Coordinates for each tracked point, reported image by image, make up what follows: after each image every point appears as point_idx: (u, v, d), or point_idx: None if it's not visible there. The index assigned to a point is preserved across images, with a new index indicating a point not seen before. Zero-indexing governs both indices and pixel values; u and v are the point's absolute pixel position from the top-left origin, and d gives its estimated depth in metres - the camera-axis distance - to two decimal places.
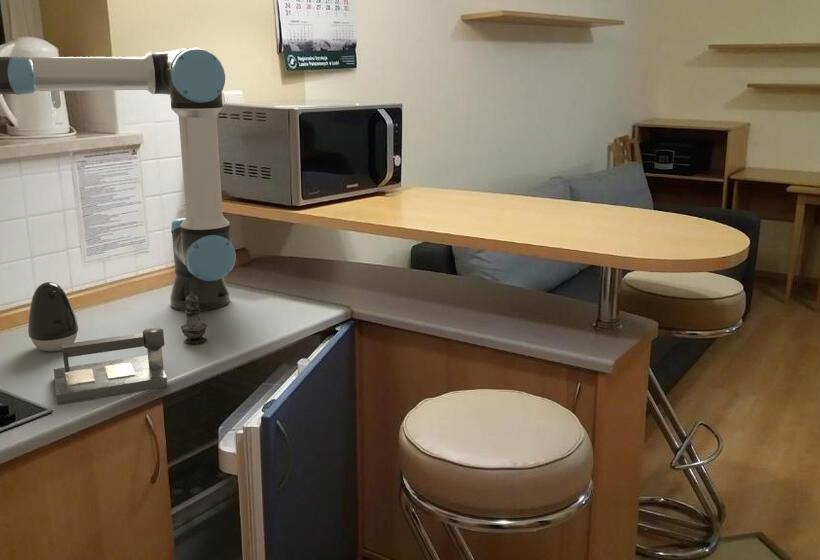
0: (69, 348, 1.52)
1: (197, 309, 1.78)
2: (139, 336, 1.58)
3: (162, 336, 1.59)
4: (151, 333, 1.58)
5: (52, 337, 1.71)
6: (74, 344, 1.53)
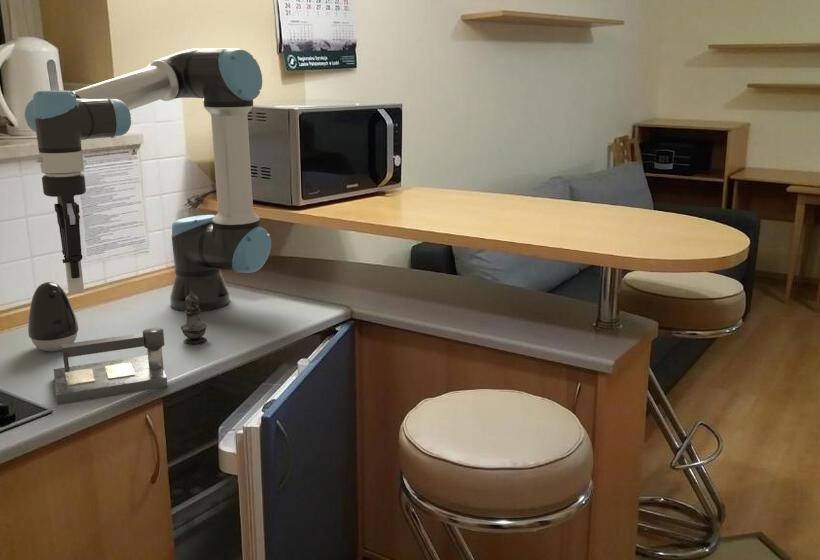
0: (69, 348, 1.52)
1: (197, 309, 1.78)
2: (139, 336, 1.58)
3: (162, 336, 1.59)
4: (151, 333, 1.58)
5: (52, 337, 1.71)
6: (74, 344, 1.53)
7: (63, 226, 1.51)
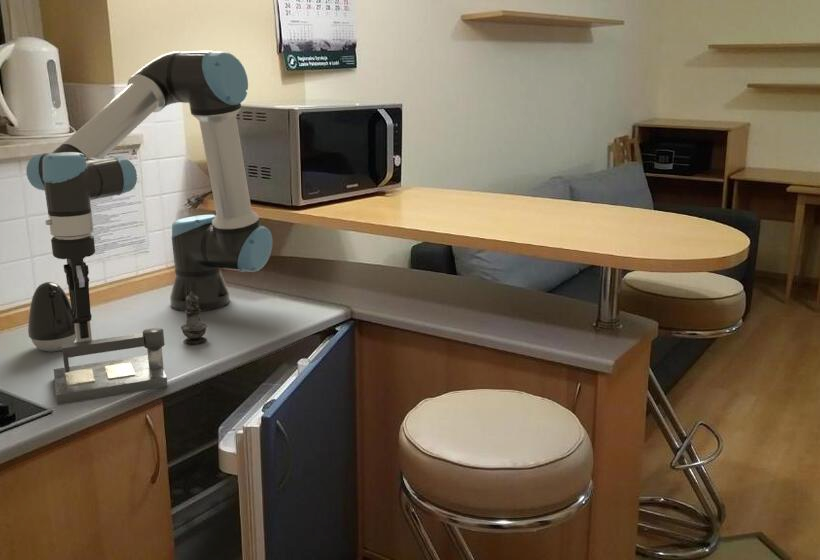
0: (69, 348, 1.52)
1: (197, 309, 1.78)
2: (139, 336, 1.58)
3: (162, 336, 1.59)
4: (151, 333, 1.58)
5: (52, 337, 1.71)
6: (74, 344, 1.53)
7: (72, 287, 1.50)
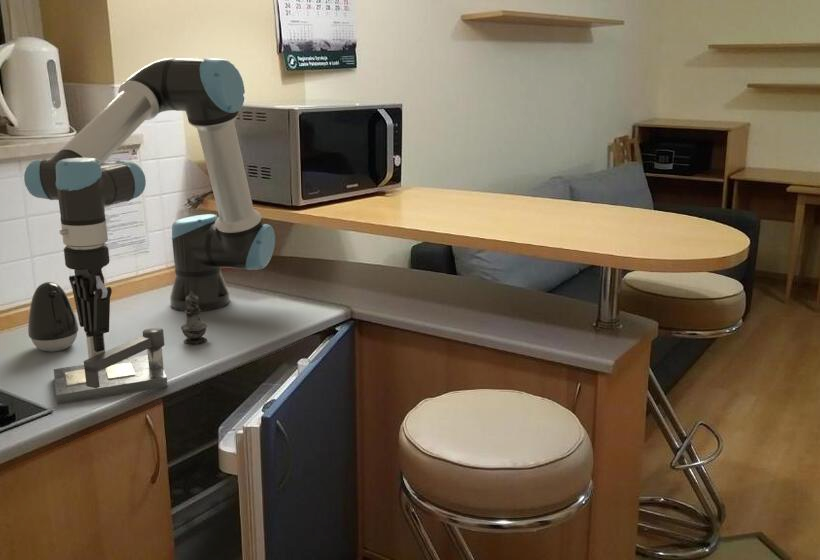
0: (98, 361, 1.45)
1: (197, 309, 1.78)
2: (145, 337, 1.57)
3: None
4: (156, 332, 1.58)
5: (52, 337, 1.71)
6: (97, 357, 1.46)
7: (89, 299, 1.44)
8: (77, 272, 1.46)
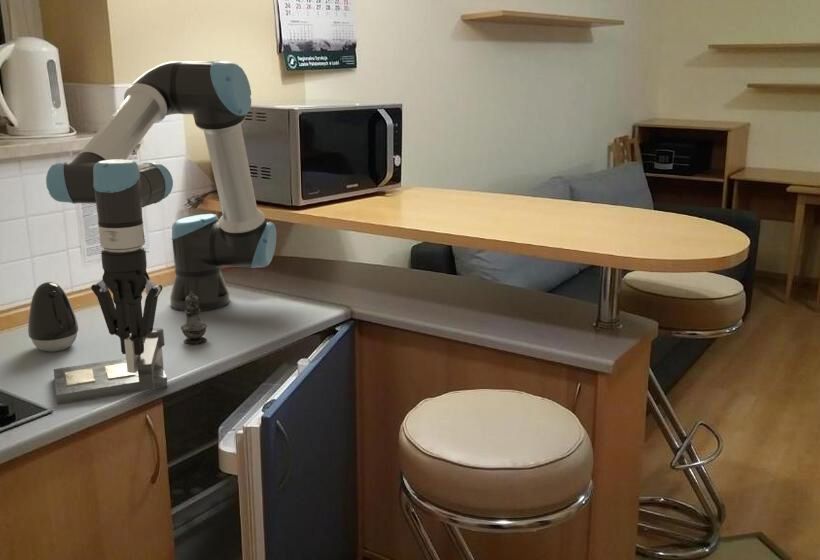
0: (151, 362, 1.45)
1: (197, 309, 1.78)
2: (153, 337, 1.57)
3: None
4: (159, 331, 1.59)
5: (52, 337, 1.71)
6: (145, 359, 1.45)
7: (134, 302, 1.42)
8: (110, 278, 1.42)
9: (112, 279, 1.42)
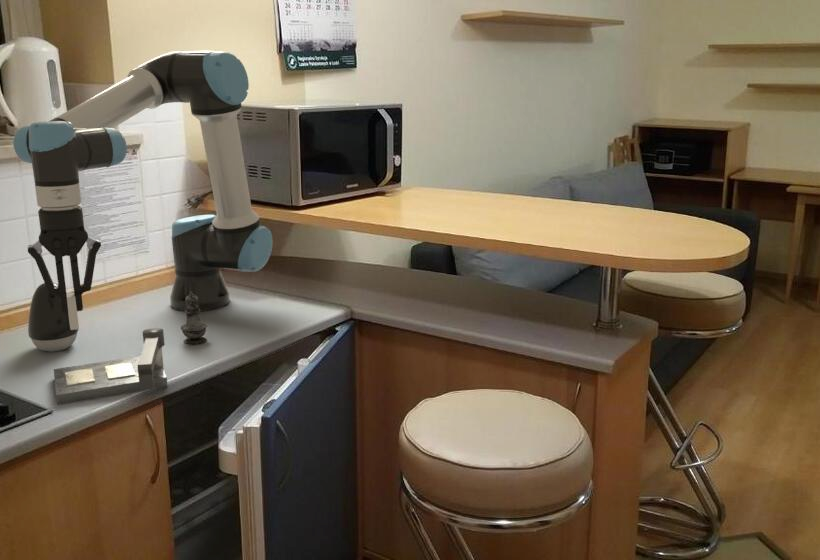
0: (151, 362, 1.45)
1: (197, 309, 1.78)
2: (153, 337, 1.57)
3: None
4: (159, 331, 1.59)
5: (52, 337, 1.71)
6: (145, 359, 1.45)
7: None
8: (50, 238, 1.46)
9: (52, 239, 1.46)
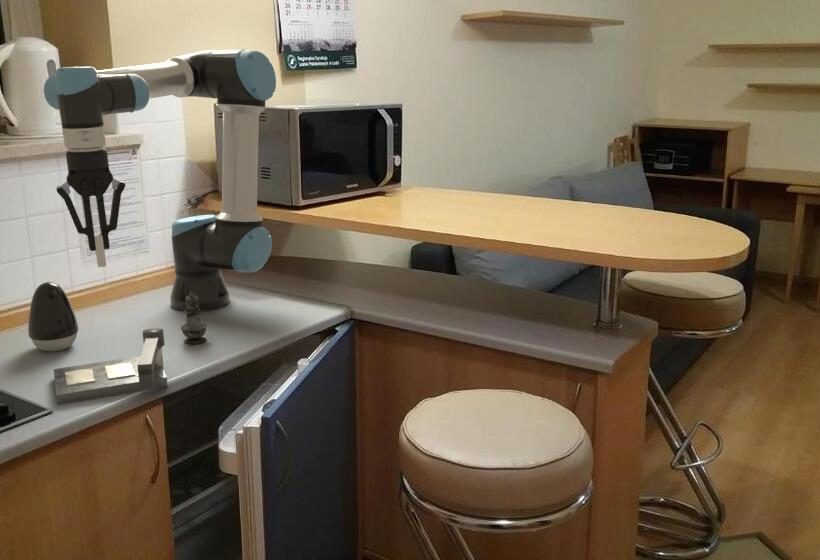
0: (151, 362, 1.45)
1: (197, 309, 1.78)
2: (153, 337, 1.57)
3: None
4: (159, 331, 1.59)
5: (52, 337, 1.71)
6: (145, 359, 1.45)
7: None
8: (77, 179, 1.53)
9: (79, 180, 1.53)
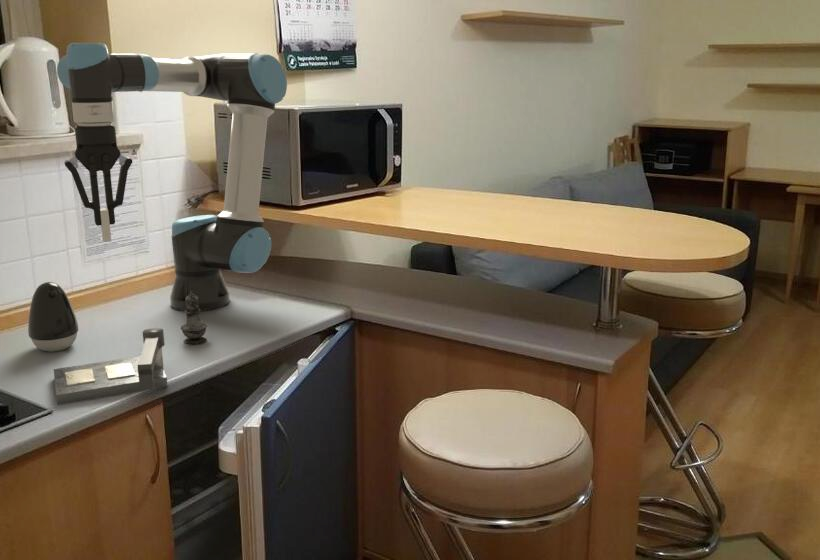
0: (151, 362, 1.45)
1: (197, 309, 1.78)
2: (153, 337, 1.57)
3: None
4: (159, 331, 1.59)
5: (52, 337, 1.71)
6: (145, 359, 1.45)
7: None
8: (85, 153, 1.56)
9: (87, 154, 1.56)
